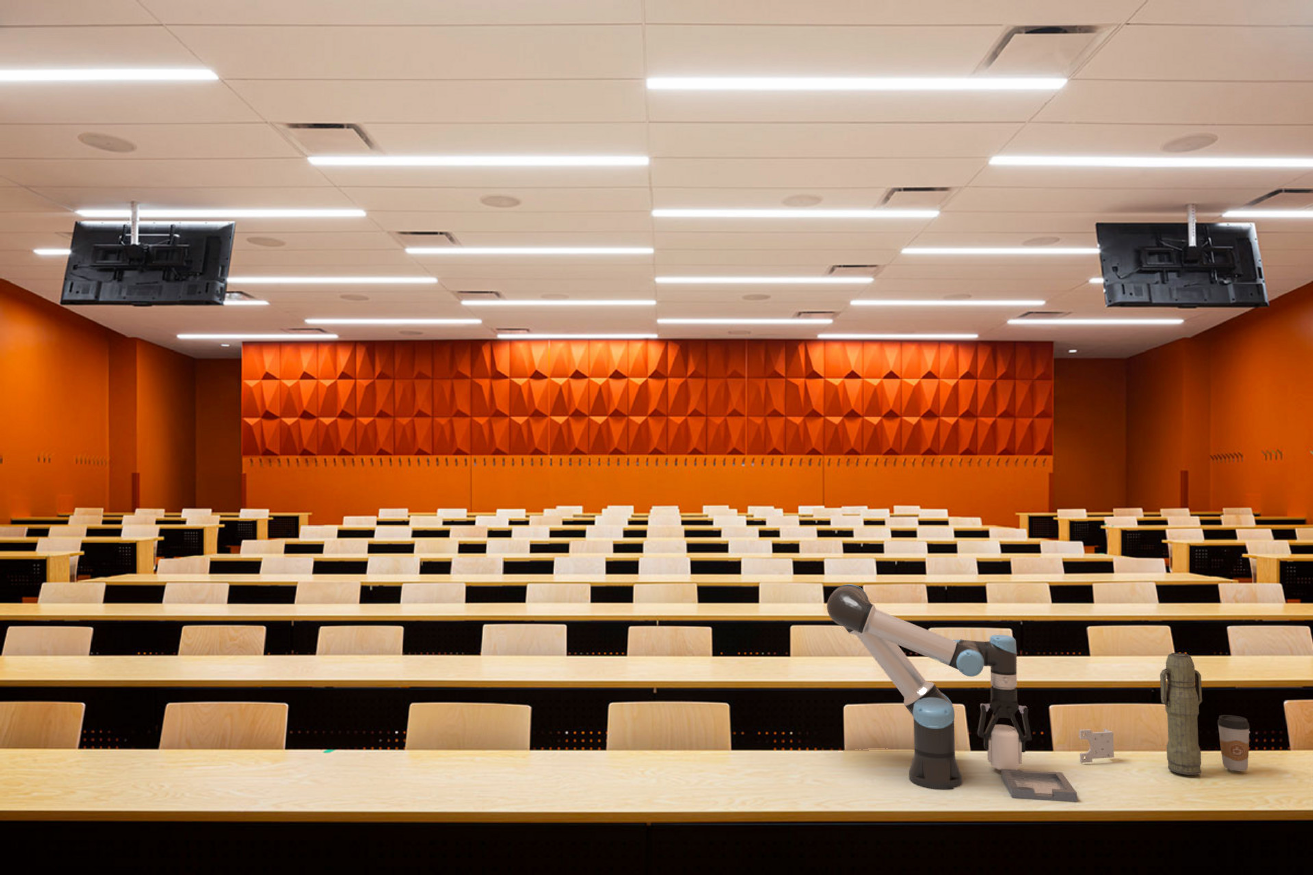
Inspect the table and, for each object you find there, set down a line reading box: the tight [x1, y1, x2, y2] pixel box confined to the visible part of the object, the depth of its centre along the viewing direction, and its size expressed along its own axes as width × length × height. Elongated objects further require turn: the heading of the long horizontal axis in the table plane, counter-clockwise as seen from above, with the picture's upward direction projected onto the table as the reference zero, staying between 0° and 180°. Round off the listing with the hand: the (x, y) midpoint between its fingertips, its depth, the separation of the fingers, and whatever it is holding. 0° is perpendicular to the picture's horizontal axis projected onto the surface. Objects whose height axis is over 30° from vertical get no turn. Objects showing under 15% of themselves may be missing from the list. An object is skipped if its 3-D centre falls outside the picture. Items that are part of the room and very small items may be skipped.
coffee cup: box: [1217, 714, 1250, 772], centre depth 265 cm, size 8×8×15 cm
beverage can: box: [989, 724, 1020, 771], centre depth 264 cm, size 8×8×12 cm
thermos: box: [1159, 652, 1203, 776], centre depth 264 cm, size 9×12×35 cm
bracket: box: [1078, 727, 1115, 763], centre depth 275 cm, size 11×4×10 cm, turn 98°
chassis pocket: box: [1000, 769, 1078, 803], centre depth 249 cm, size 17×17×2 cm
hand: (1004, 761), depth 264 cm, fingers closed on beverage can, 8 cm apart
